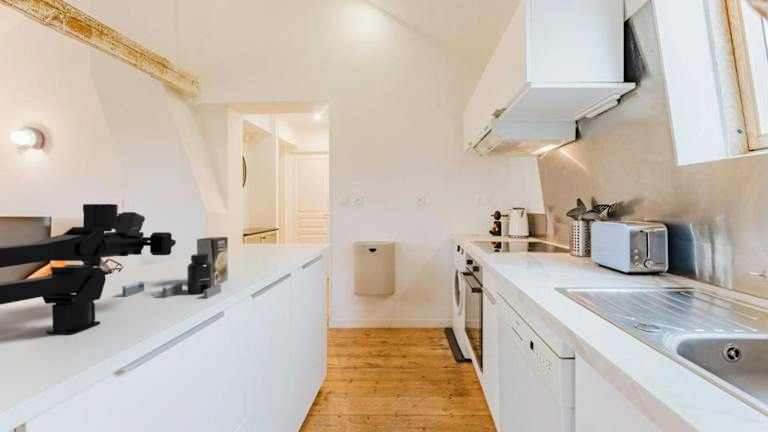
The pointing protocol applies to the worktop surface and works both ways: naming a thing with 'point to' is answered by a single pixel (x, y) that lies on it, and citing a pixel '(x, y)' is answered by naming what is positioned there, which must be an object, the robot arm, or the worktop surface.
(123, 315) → the worktop surface
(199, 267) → the supplement bottle
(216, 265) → the coffee box
